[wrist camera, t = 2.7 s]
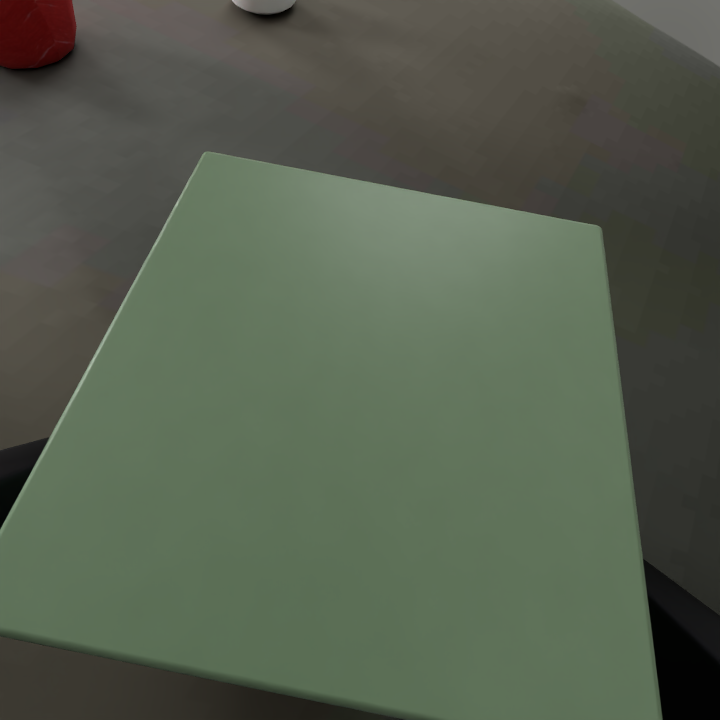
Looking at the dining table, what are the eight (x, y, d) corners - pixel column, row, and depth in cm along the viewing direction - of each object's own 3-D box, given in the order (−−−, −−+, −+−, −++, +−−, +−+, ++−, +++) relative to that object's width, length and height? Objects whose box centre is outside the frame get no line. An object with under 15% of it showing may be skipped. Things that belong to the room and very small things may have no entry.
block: (390, 585, 14) (675, 780, 3) (257, 557, 14) (-59, 628, 3) (407, 451, 16) (604, 224, 5) (292, 428, 16) (203, 147, 5)
